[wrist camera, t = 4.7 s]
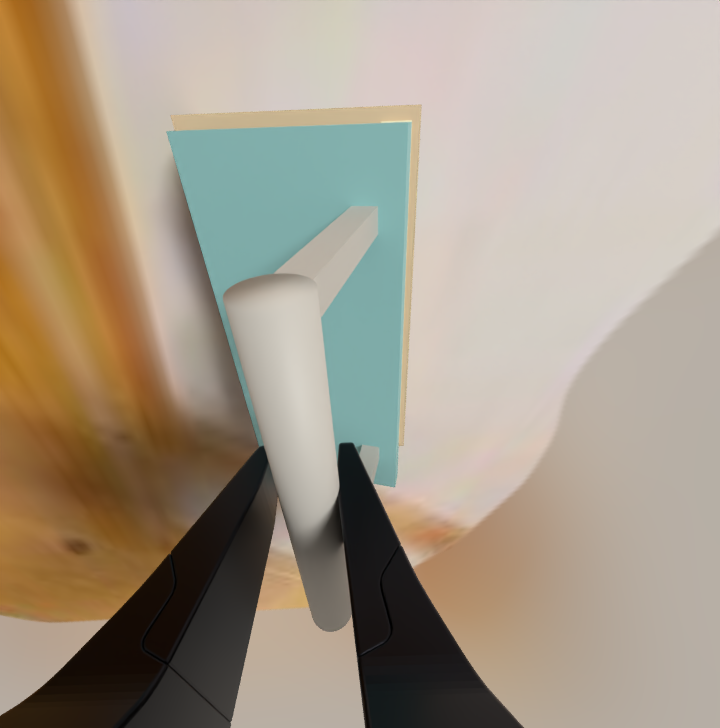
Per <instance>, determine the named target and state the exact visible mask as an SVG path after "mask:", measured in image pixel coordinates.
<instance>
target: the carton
mask: <svg viewBox="0 0 720 728" xmlns="http://www.w3.org/2000/svg"><path fill="white" fill-rule="evenodd" d="M171 119H172V122H173V126H174V129H175V131H181V130H205V129H232V128H259V127H286V126H313V125H340V124H367V123H393V122H412V128H411V152H410V177H409V201H408V226H407V250H406V275H405V299H404V324H403V348H402V373H401V397H400V422H399V446H404V427H405V408H406V389H407V370H408V351H409V332H410V313H411V294H412V275H413V256H414V237H415V219H416V200H417V181H418V162H419V143H420V124H421V105H401V106H378V107H354V108H331V109H308V110H284V111H261V112H238V113H215V114H191V115H171Z"/></svg>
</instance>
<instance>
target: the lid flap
mask: <svg viewBox="0 0 720 728" xmlns="http://www.w3.org/2000/svg"><path fill="white" fill-rule="evenodd" d="M411 128H412V122H393V123H367V124H340V125H313V126H286V127H259V128H232V129H205V130H181V131H167V135H168V139H169V142H170V145H171V149H172V152H173V156H174V159H175V162H176V166H177V169H178V173H179V176H180V179H181V183H182V186H183V190H184V193H185V196H186V200H187V203H188V207H189V210H190V213H191V217H192V220H193V224H194V227H195V230H196V234H197V237H198V241H199V244H200V247H201V251H202V254H203V258H204V261H205V264H206V268H207V271H208V275H209V278H210V281H211V285H212V288H213V292H214V295H215V298H216V302H217V305H218V309H219V312H220V315H221V319H222V322H223V326H224V329H225V332H226V336H227V339H228V343H229V346H230V349H231V353H232V356H233V360H234V363H235V366H236V370H237V373H238V377H239V380H240V383H241V387H242V390H243V394H244V397H245V400H246V404H247V407H248V411H249V414H250V417H251V421H252V424H253V427H254V431H255V434H256V438H257V441H258V444H259V447H260V446H263V445H264V448H265V451H266V455H267V458H268V462H269V465H270V469H271V472H272V476H273V479H274V483H275V487H276V490H277V494H278V497H279V501H280V504H281V508H282V511H283V515H284V518H285V522H286V526H287V529H288V533H289V536H290V540H291V543H292V547H293V550H294V554H295V558H296V561H297V565H298V568H299V572H300V575H301V579H302V582H303V586H304V589H305V593H306V597H307V600H308V604H309V607H310V611H311V614H312V618H313V620H314V622H315V624H316V625H317V626H318V627H319V628H320V629H322V630H324V631H328V632H333V631H337V630H339V629H341V628H342V627H344V626H345V625H346V624H347V622H348V621H349V619H350V617H351V615H352V611H351V602H350V594H349V585H348V577H347V568H346V560H345V551H344V543H343V534H342V526H341V517H340V509H339V500H338V492H339V476H338V467H337V463H338V448H339V444H340V443H343V442H352V443H354V445H355V447H356V449H357V451H358V453H359V455H360V458H361V460H362V462H363V464H364V466H365V468H366V470H367V473H368V475H369V477H370V479H371V481H372V483H373V484H379V485H384V486H390V487H395V485H396V479H397V471H398V446H399V422H400V397H401V373H402V348H403V324H404V299H405V275H406V250H407V226H408V201H409V177H410V152H411Z"/></svg>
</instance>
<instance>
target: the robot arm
mask: <svg viewBox="0 0 720 728" xmlns="http://www.w3.org/2000/svg"><path fill="white" fill-rule="evenodd" d="M337 467H338V476H339V492H338V500H339V509H340V517H341V526H342V534H343V543H344V551H345V560H346V568H347V577H348V585H349V594H350V602H351V611H352V619H353V628H354V636H355V644H356V652H357V662H358V670H359V679H360V687H361V696H362V705H363V713H364V720H365V728H524V727H523V726H522V725H521V724H520V723H519V722H518V721H517V720H516V719H515V718H514V716H513V715H512V714H511V713H510V712H509V711H508V710H507V709H506V707H505V706H503V704H502V703H501V702H500V701H499V700H498V699H497V698H496V697H495V695H494V694H493V693H492V692H491V691H490V690H489V689H488V688H487V686H486V685H485V684H484V682H483V681H482V680H481V678H480V677H479V676H478V674H477V673H476V671H475V670H474V669H473V667H472V666H471V664H470V663H469V661H468V660H467V658H466V657H465V655H464V654H463V652H462V650H461V649H460V647H459V646H458V644H457V642H456V641H455V639H454V637H453V636H452V634H451V633H450V631H449V630H448V628H447V626H446V625H445V623H444V622H443V620H442V618H441V617H440V615H439V613H438V612H437V610H436V609H435V607H434V605H433V604H432V602H431V600H430V599H429V597H428V595H427V594H426V592H425V590H424V588H423V587H422V585H421V583H420V581H419V580H418V578H417V576H416V574H415V572H414V570H413V568H412V566H411V564H410V562H409V560H408V558H407V556H406V554H405V551H404V549H403V547H402V546H401V543H400V541H399V539H398V537H397V535H396V533H395V530H394V528H393V526H392V524H391V522H390V520H389V518H388V515H387V513H386V511H385V509H384V507H383V505H382V503H381V500H380V498H379V496H378V494H377V492H376V490H375V488H374V485H373V483H372V481H371V479H370V477H369V475H368V473H367V470H366V468H365V466H364V464H363V462H362V460H361V458H360V455H359V453H358V451H357V449H356V447H355V445H354V443H352V442H343V443H340V444H339V448H338V463H337ZM277 497H278V494H277V490H276V487H275V483H274V479H273V476H272V472H271V469H270V465H269V462H268V458H267V455H266V451H265V448H264V445H263V446H260V447H258V448H257V450H256V451H255V452H254V453H253V454H252V456H251V457H250V458H249V459H248V460H247V462H246V463H245V464H244V465H243V466H242V468H241V469H240V470H239V471H238V472H237V474H236V475H235V476H234V477H233V478H232V479H231V481H230V482H229V483H228V484H227V485H226V487H225V488H224V489H223V490H222V491H221V493H220V494H219V495H218V496H217V497H216V499H215V500H214V501H213V502H212V503H211V505H210V506H209V507H208V508H207V509H206V510H205V512H204V513H203V514H202V515H201V516H200V518H199V519H198V520H197V521H196V522H195V524H194V525H193V526H192V527H191V528H190V530H189V531H188V532H187V533H186V534H185V535H184V537H183V538H182V539H181V540H180V541H179V543H178V544H177V545H176V546H175V547H174V549H173V550H172V551H171V554H169V555H168V556H167V557H166V558H165V559H164V560H163V562H162V563H161V564H160V565H159V566H158V567H157V569H156V570H155V571H154V572H153V573H152V574H151V575H150V577H149V578H148V579H147V580H146V581H145V582H144V584H143V585H142V586H141V587H140V588H139V589H138V590H137V591H136V592H135V593H134V594H133V596H132V597H131V598H130V599H129V600H128V601H127V602H126V603H125V604H124V605H123V606H122V607H121V608H120V609H119V610H118V611H117V612H116V613H115V614H114V616H113V617H112V618H111V619H110V620H109V621H108V622H107V623H106V624H105V625H104V626H103V627H102V628H101V629H100V630H99V631H98V632H97V633H96V634H95V635H94V636H93V637H92V638H91V639H90V640H89V641H88V642H87V643H86V644H85V645H84V646H83V647H82V648H81V650H79V651H78V652H77V653H76V654H75V655H74V656H73V657H72V658H71V659H70V660H69V661H68V662H67V664H66V665H65V666H64V667H63V668H62V669H61V670H59V672H57V673H56V674H55V675H54V677H52V678H51V679H50V680H49V681H48V682H47V683H46V684H44V685H43V686H42V687H41V688H40V689H38V690H37V691H36V692H35V693H33V694H32V695H31V696H29V697H28V698H27V699H25V700H24V701H22V702H21V703H20V704H18V705H17V706H15V707H14V708H12V709H10V710H9V711H7V712H6V713H4V714H2V715H1V716H0V728H230V726H231V723H230V722H231V721H232V717H233V712H234V708H235V703H236V699H237V694H238V689H239V685H240V680H241V676H242V671H243V666H244V662H245V658H246V653H247V648H248V644H249V639H250V634H251V630H252V626H253V621H254V617H255V612H256V607H257V603H258V598H259V594H260V589H261V585H262V580H263V576H264V571H265V566H266V562H267V557H268V553H269V548H270V544H271V539H272V535H273V530H274V524H275V516H276V507H277Z"/></svg>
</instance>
